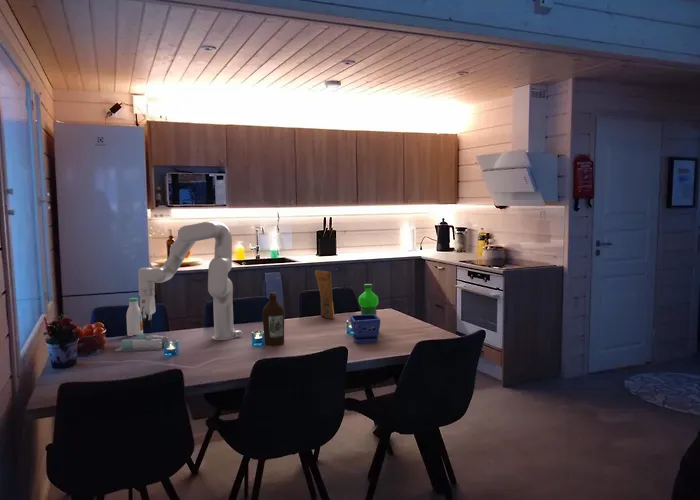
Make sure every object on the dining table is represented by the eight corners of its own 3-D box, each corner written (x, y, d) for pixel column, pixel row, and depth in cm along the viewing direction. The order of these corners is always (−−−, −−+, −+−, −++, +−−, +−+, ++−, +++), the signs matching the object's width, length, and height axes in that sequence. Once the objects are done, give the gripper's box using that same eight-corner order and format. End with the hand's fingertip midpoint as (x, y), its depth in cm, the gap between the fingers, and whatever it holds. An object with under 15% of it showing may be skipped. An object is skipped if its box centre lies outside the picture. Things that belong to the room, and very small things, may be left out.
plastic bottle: (362, 335, 280) (360, 286, 278) (357, 330, 290) (356, 283, 288) (381, 333, 282) (380, 285, 280) (376, 329, 292) (374, 282, 290)
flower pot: (381, 343, 261) (381, 318, 260) (354, 345, 259) (353, 320, 258) (375, 337, 274) (375, 313, 273) (349, 339, 272) (349, 315, 271)
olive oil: (260, 343, 268) (258, 292, 266) (281, 340, 273) (279, 290, 271) (266, 347, 259) (264, 295, 257) (288, 344, 263) (286, 293, 261)
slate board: (181, 340, 277) (181, 339, 277) (169, 350, 257) (169, 349, 257) (129, 342, 277) (129, 340, 277) (113, 352, 257) (113, 351, 257)
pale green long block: (168, 346, 262) (168, 336, 262) (166, 348, 259) (165, 338, 258) (124, 348, 262) (123, 337, 261) (121, 350, 258) (120, 339, 258)
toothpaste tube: (171, 345, 266) (170, 336, 265) (166, 346, 263) (165, 337, 262) (142, 341, 274) (142, 333, 274) (137, 343, 271) (136, 334, 271)
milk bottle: (137, 337, 288) (135, 299, 287) (124, 337, 290) (122, 299, 288) (145, 333, 296) (143, 297, 294) (133, 333, 297) (130, 297, 296)
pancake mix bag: (327, 320, 320) (325, 272, 318) (315, 314, 337) (313, 269, 335) (337, 318, 323) (336, 271, 321) (325, 313, 340) (324, 268, 338)
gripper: (149, 294, 271) (150, 331, 272) (159, 289, 286) (159, 324, 287) (133, 294, 271) (135, 331, 272) (144, 289, 286) (145, 324, 287)
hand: (147, 327), depth 280 cm, fingers closed
